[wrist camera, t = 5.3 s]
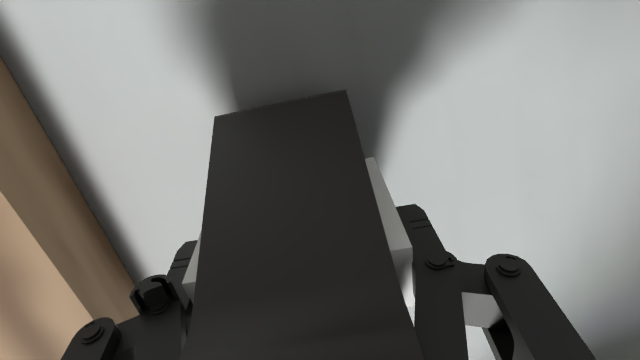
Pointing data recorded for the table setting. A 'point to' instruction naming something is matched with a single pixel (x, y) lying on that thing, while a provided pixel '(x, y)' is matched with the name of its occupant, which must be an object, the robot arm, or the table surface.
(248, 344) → the phone stand
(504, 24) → the table surface
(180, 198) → the table surface
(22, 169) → the wooden board
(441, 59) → the table surface
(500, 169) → the table surface
